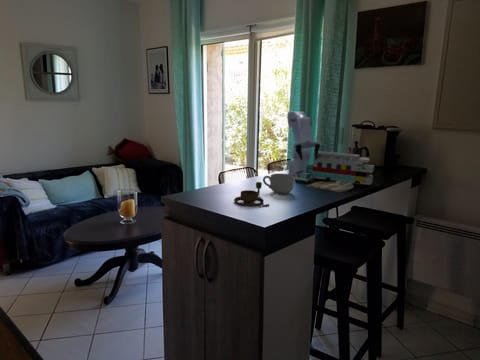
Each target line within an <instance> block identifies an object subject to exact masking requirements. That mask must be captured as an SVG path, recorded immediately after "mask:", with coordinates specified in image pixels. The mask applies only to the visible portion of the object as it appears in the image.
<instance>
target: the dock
mask: <svg viewBox="0 0 480 360" xmlns="http://www.w3.org/2000/svg"><path fill="white" fill-rule="evenodd" d="M353 184H354V183H350V182H342V181H331V182H325V181H315V182H313V183H310V184H305V186H306V187H309V188H315V189H320V190H321V189H322V190H326V191H332V192H335V193H344V192H346V191H349V190H352V189H353V188H354V186H355V184H354V185H353Z"/></svg>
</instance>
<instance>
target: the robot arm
mask: <svg viewBox="0 0 480 360" xmlns="http://www.w3.org/2000/svg"><path fill="white" fill-rule="evenodd" d="M286 116H287V117H286V118H287V124H288V127H290V128H291V131H292V136H293V141H294V142H293V144H292V147H291V159H290V161H289V165H288V173H287V174H289V175H292V176H295V172H298V171H303V172H306V173H307V164H308V160H310V158H311V155H312V154H311V148H314V150H313V153H314V152H315V160H317V156H318V151H320V148H322V147H323V146H322V145H323V144H322V142H319V141H315V140H313V133H312V125H313V120H312V117H308V116H307V115H306V113H305V112H304V111H290V110H289V111H288V112H287V115H286ZM303 172H302V173H303Z"/></svg>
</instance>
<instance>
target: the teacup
mask: <svg viewBox="0 0 480 360" xmlns="http://www.w3.org/2000/svg"><path fill="white" fill-rule="evenodd" d="M266 179H268V180H269V182H270V183H267V182H266ZM262 182H263V184H264V185H265V186H267V187H268V188H269V189H270V190H271V191H272V192H273V193H274V194H276V195H281V194H282V195H284V194H285V195H288V194H290V193H291V192H293V189H294V184H295V183H294V182H295V175H289V174H288V173H273V174H271V175H264V176H263V178H262Z"/></svg>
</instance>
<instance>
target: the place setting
mask: <svg viewBox="0 0 480 360" xmlns="http://www.w3.org/2000/svg"><path fill="white" fill-rule="evenodd" d="M262 185H263V184H262V182H261V181H256V183H255V189H257V191H256V190H251V189H247V190H246V189H245V190H241V191H240V196H237V197H236V196H235V198H234V199H233V201H234V204H236V205H237V206H240V207H247V206H249V207H253V206H254V207H258V209H261V208H266V207H267V206H268V207H269V206H270V204H269V203H266V204H264V202H265V201H264V199H263V198H261V197H258V196H260V195H261V194H260V190H261V189H262ZM257 200H258V201H257ZM241 201H242V202H241ZM255 202H257V203H255ZM249 207H248V208H249ZM254 207H253V208H254Z"/></svg>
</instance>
